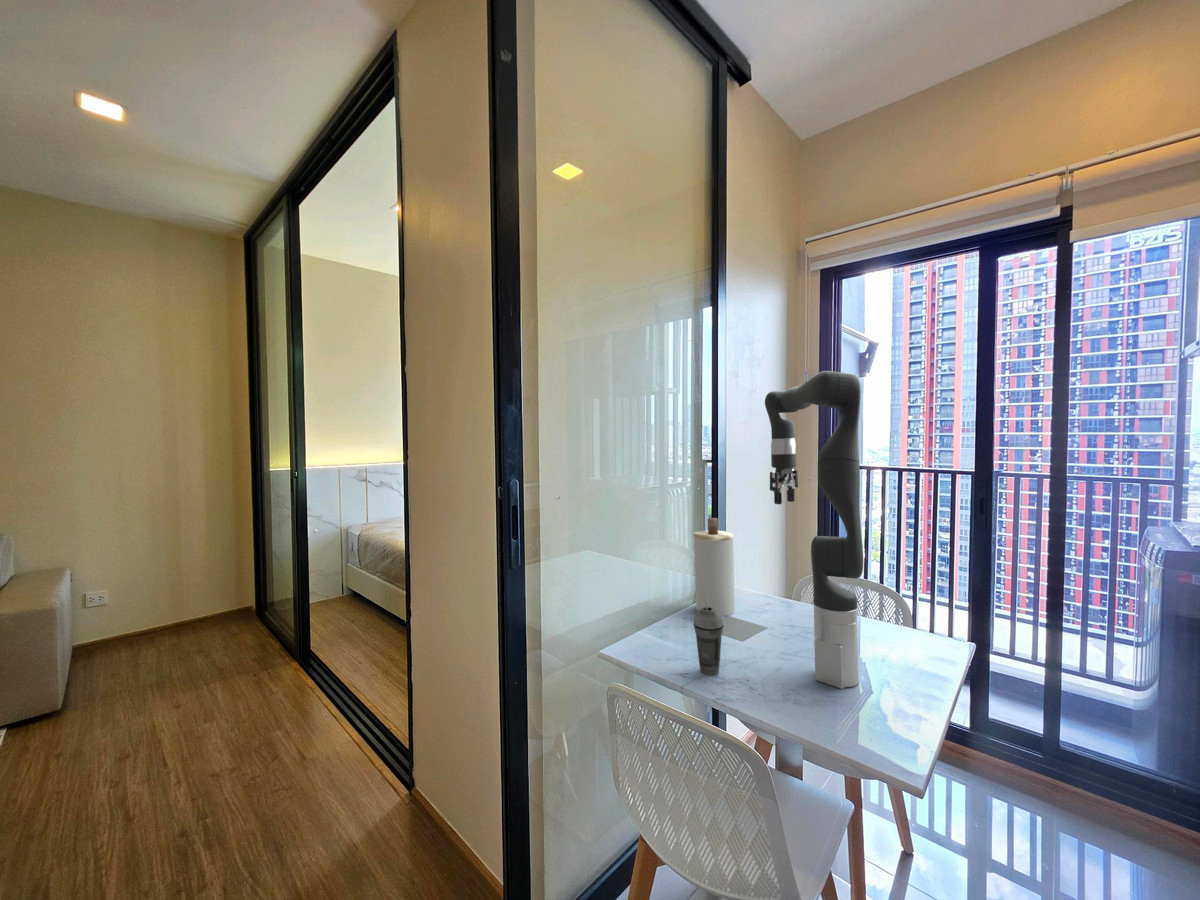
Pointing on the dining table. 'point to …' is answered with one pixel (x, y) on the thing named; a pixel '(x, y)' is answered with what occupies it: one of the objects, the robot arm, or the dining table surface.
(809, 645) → the dining table surface
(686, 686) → the dining table surface
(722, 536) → the lid
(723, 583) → the cylinder vase
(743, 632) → the mat
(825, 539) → the robot arm
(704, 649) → the beverage cup
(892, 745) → the dining table surface
